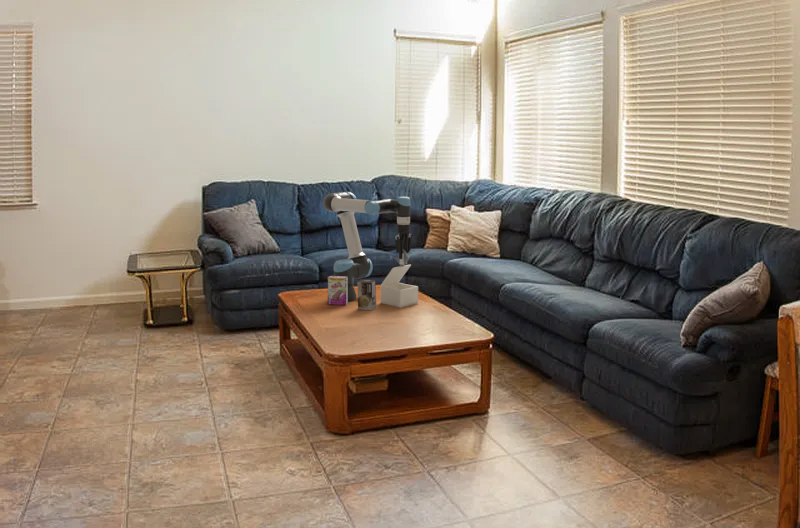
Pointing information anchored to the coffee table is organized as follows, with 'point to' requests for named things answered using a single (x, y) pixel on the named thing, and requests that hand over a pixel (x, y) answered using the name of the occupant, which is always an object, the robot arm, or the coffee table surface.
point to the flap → (397, 271)
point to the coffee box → (366, 294)
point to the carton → (399, 294)
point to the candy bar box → (337, 290)
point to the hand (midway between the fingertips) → (403, 264)
